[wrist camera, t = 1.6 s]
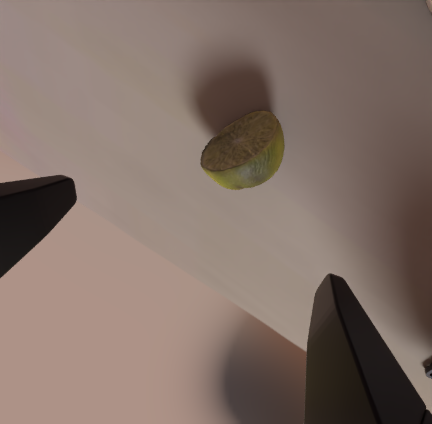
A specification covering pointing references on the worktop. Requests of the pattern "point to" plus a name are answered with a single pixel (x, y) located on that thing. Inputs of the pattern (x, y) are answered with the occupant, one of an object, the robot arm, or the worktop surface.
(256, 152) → the lime
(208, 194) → the worktop surface
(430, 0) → the ceramic dish
